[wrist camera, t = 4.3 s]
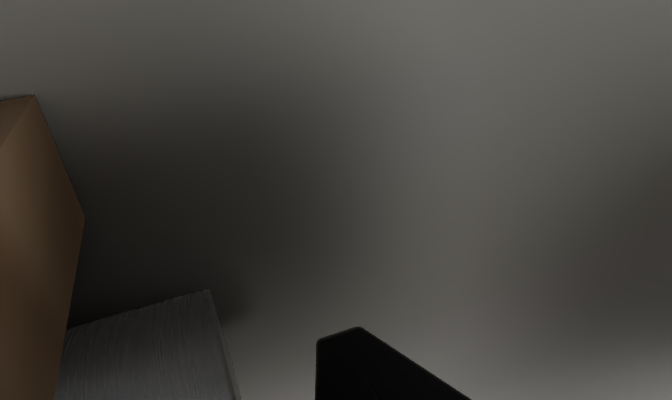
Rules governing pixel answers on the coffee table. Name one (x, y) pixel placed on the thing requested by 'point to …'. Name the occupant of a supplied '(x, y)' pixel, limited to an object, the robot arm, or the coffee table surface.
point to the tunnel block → (34, 252)
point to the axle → (150, 355)
